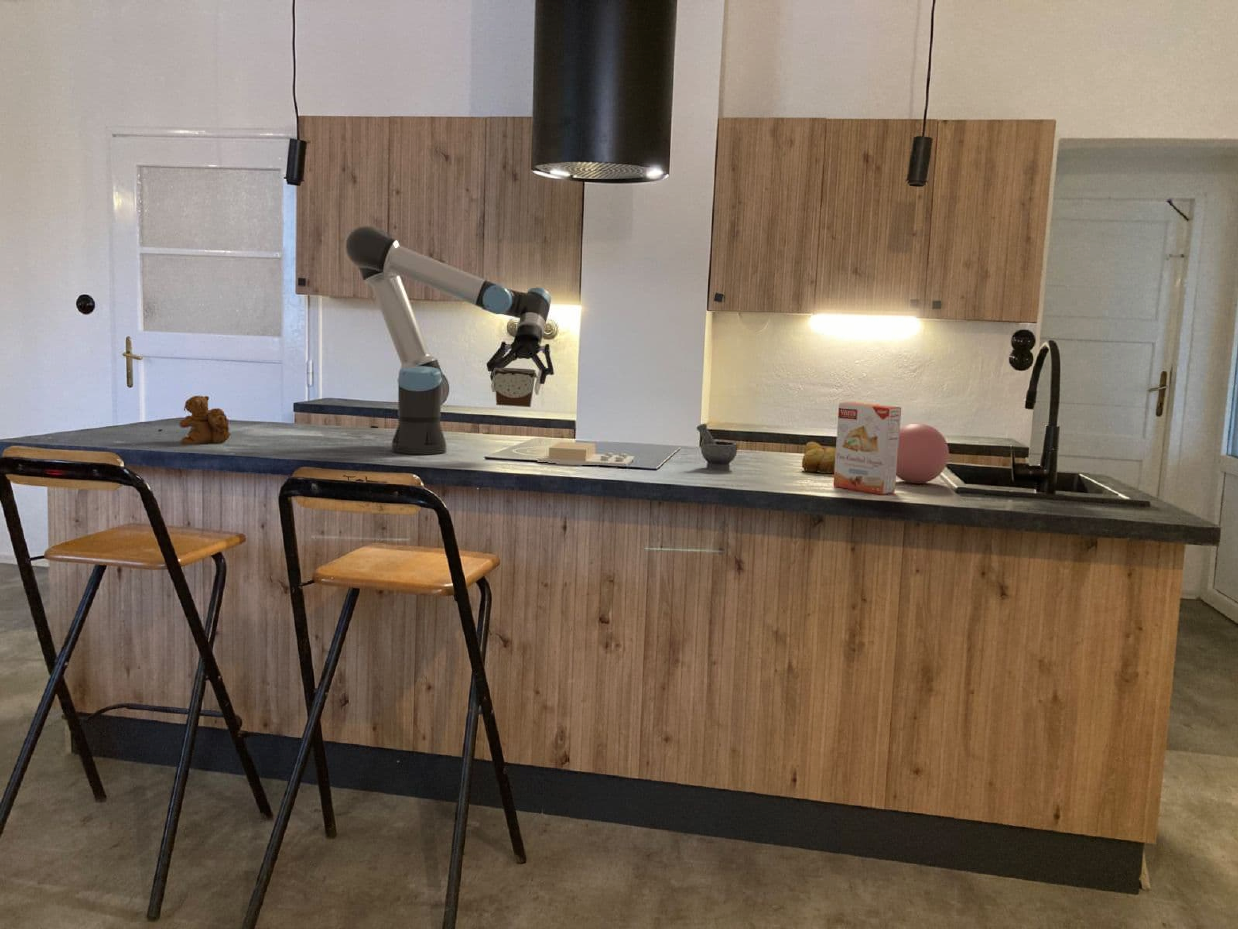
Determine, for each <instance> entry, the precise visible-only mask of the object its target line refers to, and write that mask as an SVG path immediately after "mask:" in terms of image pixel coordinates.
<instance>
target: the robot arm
mask: <svg viewBox="0 0 1238 929" xmlns="http://www.w3.org/2000/svg"><path fill="white" fill-rule="evenodd" d="M345 251H346V254H347V257H348V258H349V260H350V261H351V262H352V263H353V264H354V265H355V266H357V268H358V270H359V272H360V275H361V278H362V280H363V283H365V284H367V285H370V287H371V288H372V291H373V293H374V296H375V299H376V301H377V304H378V306H379V310H380V312H381V314H382V317H383V320H384V323H385V325H386V328H387V330H388V333H389V335H390V338H391V341H392V343H393V345H394V348H395V351H396V354H397V356H398V358H399V360H400V364H401V365H400V368H399V371H398V377H397V385H398V387H397V388H398V393H397V396H398V397H397V398H398V402H397V406H398V407H397V409H398V411H397V416H398V418H397V426H396V428H395V431H394V435H393V438H392V441H391V447H390V448H391V450H390V451H391V452H393V453H398V454H403V455H404V454H405V455H406V454H407V455H439V454H443V453H446V452H447V442H446V438H445V436H444V432H443V429H442V424H441V417H442V414H441V412H442V411H441V410H442V406H443V405H444V403H445V402H446V401H447V400H448V397H449V394H450V383H449V380H448V378H447V376H446V375H445V374H444V372H443V371H442V369H441V368H442V367H441V365H440V363H439V360H438V358H437V357H435V356H433V355H431V354H430V352H429V349H428V347H427V344H426V341H425V339H424V335H423V333H422V330H421V328H420V326H419V323H418V319H417V317H416V314H415V313H414V309H413V307H412V305H411V302H410V299H409V296H408V295H407V292H406V289H405V286H404V283H403V281H402V279H401V277H404V278H406V279H408V280H411V281H413V282H415V283H418V284H421V285H423V286H425V287H428V288H431V289H434V290H435V291H437V292H441V293H443V294H446V295H448V296H450V297H453V298H456V299H459V300H461V301H464V302H467V303H468V304H471V305H472V306H473V305H474V306H476V307H478V308H480V309H482V310H483V311H485V312H489V313H491V314H493V315H494V314H495V315H504V316H508V317H513V318H516V319H519V321H518V323H517V327H516V331H515V334H514V338H513V342H512V343H506V341H505V340H503V341H502V342H501V344H500V347H499V348H498V349H497V350H496V351H495V353H494V354H493V355H492V356H491V358H490V359H489V360H488V361H487V363H486V368H487V371H488V372H490V375H489V378H490V381H491V383H490V388H491V392H492V393H496V392H495V377H494V376H492V373H493V370H494V368H507V366H508V365H510V364H511V363H512V362H513V361H514V362H516V361H517V359H518V360H519V359H521V360H522V359H525V360H530V359H531V360H532V362H533V363H534V364H535V366H536V368H538V371H537V378H535V382H534V387H533V390H534V393H535V395H539V394H540V390H541V386H542V385H544V384H545V383H546V380H547V376H549V375H550V376H553V375H554V374H555V371H554V366H553V363H552V362H553V361H552V358H551V347H550V344H549V343H545V345H541V343H542V339H543V335H544V331H545V328H546V324H547V319H548V318H549V317H548V316H549V313H550V309H551V308H550V307H551V302H552V297H551V294H550V293H549V292H548V291H547V289H544V288H542V287H531V288H530V289H528V290H527V291H526V292H523V291H519V290H518V291H517V290H515V289H514V290H513V289H509V288H506V287H505V286H502V285H500V284H496V283H494V282H491V281H490V280H489V281H488V280H486V279H484V278H482V277H479V276H476V275H474V274H471V273H469V272H467V271H464V270H461V269H459V268H457V267H454V266H451V265H449V264H447V263H444V262H441V261H439V260H436V259H435V258H431V257H429V256H427V255H425V254H421V253H419V252H416V251H414V250H411V249H409V248H407V247H405V246H402V245H400V242H399V241H398V240H396V239H395V238H393V237H392V236H391V235H390V234H389V233H387V232H386V231H384V230H382V229H379V228H376V227H373V226H370V225H369V226H368V225H363V226H360V227H357V228H355V229H353V230H352V231H351V232H350V233H349V234H348V236H347V238H346V241H345ZM540 352H541V353H542V354H543V355H544V356H545V362H546V366H545V364H544V363H543V361H542V360H541V358H540V357H539V355H538V354H539V353H540Z"/></svg>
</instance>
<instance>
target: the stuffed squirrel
mask: <svg viewBox="0 0 1238 929" xmlns="http://www.w3.org/2000/svg"><path fill="white" fill-rule="evenodd" d="M209 400H210V397H209V396H208V395H207V396H203V395H195V396H191V397H190V398H188V399H187V400H186V401H185V404H184V408H183V411H184V412H188V413H190V414H191V415H187V416H185V418H183V419H181V420H180V421H179V423H178V424H179V427H180V428H182V429H184V428H188V427H189V428H190V429H189V432H188V433H187V436H185V437H183V438H181V439H180V443H181V444H186V445H197V444H198V445H200V444H201V445H202V444H221V443H225V442H226V441H228V439H229V438H230V436H231V435H232V434H231V432H230V427H229V418H227V415H226V414H225V412H224V411H223V409H222V408H219V407H218V408H211V409H209V402H208V401H209Z"/></svg>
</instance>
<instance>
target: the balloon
mask: <svg viewBox="0 0 1238 929" xmlns="http://www.w3.org/2000/svg"><path fill="white" fill-rule="evenodd" d="M949 455H950V451H949V445H948V443H947V440H946V438H945V437H944V435H943V434H942V433H941V432H940V431H939V430H938V429H936V428H935V427H933V426H932V425H928V424H926V423H910V424H906V425H904V426H901V427H900V432H899V445H898V458H897V471H896V478H899V479H900V480H902V481H904V482H906V483H910V484H916V485H917V484H925V483H928V482H931V481H933V480H935V479H936V478H937V477H939V476H940V475H941V474H942V473H943V472H944V470H945V469H946V467H947V465H948V461H949Z"/></svg>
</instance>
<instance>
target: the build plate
mask: <svg viewBox="0 0 1238 929" xmlns="http://www.w3.org/2000/svg"><path fill="white" fill-rule="evenodd" d="M633 459H634V460H635V456H634V455H628V453H619V454H618V455H617V454H613V452H605V453H604V454H602V453H601V454H599V453H596V443H590V442H588V443H587V442H572V441H571V442H570V441H559V442H557V443H555V444H553V445H551V446H550V447H548V452H547V453H545V454H543V455H541V456H539V457H538V458H537V460H536V461H537V462H548V463H556V464H555V465H568V466H582V465H610V466H627V465H628V464H629V463H630V462H631V461H632V460H633ZM548 463H547V464H548Z"/></svg>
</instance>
